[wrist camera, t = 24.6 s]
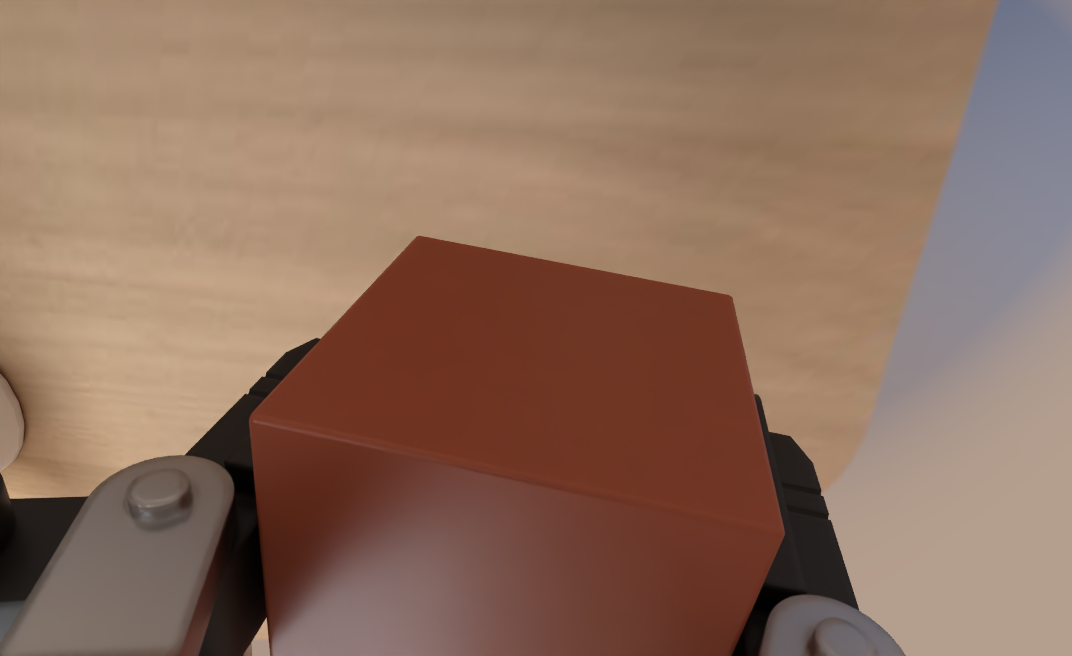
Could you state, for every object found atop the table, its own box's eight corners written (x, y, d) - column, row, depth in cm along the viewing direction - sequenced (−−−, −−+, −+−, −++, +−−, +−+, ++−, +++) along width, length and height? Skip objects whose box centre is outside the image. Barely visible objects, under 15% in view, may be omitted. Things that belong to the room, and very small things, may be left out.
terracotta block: (404, 473, 12) (274, 727, 8) (417, 233, 9) (244, 415, 6) (659, 530, 11) (659, 825, 7) (733, 293, 9) (788, 534, 5)
